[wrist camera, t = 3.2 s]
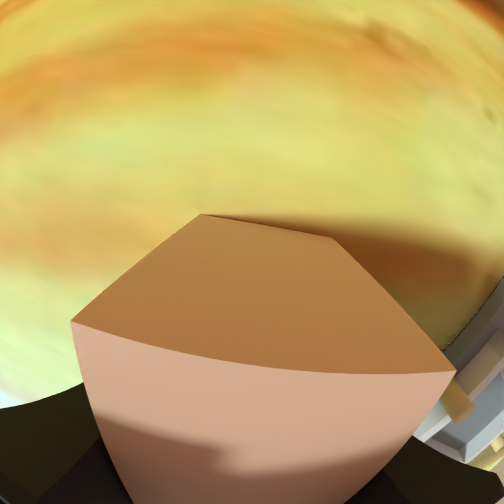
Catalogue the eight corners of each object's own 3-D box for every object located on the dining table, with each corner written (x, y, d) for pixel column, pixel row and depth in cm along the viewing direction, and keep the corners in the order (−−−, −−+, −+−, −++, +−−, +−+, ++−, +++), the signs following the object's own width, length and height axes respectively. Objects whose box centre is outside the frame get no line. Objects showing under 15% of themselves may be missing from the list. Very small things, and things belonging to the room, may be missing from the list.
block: (276, 417, 12) (282, 545, 5) (184, 403, 12) (149, 528, 5) (331, 237, 9) (456, 370, 2) (199, 214, 9) (70, 320, 2)
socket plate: (416, 477, 15) (426, 503, 12) (316, 451, 13) (323, 498, 9) (543, 356, 11) (564, 375, 8) (520, 248, 9) (564, 270, 6)
